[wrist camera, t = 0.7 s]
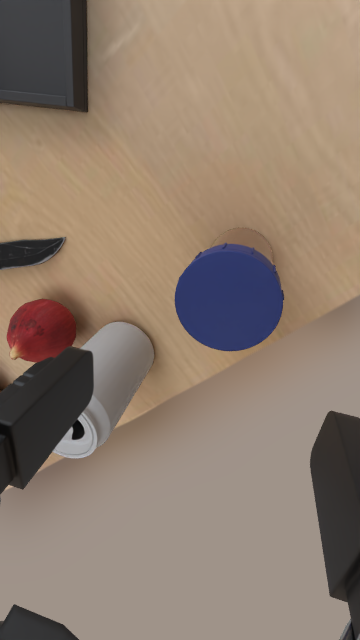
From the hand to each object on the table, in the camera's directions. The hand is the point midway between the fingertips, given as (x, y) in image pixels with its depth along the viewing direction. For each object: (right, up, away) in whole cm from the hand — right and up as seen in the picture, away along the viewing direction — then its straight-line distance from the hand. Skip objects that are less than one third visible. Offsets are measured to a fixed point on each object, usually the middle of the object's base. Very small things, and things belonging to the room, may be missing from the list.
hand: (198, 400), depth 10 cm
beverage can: (-6, 0, +22) cm, 23 cm away
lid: (+2, +4, +7) cm, 8 cm away
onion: (-12, +3, +23) cm, 26 cm away
